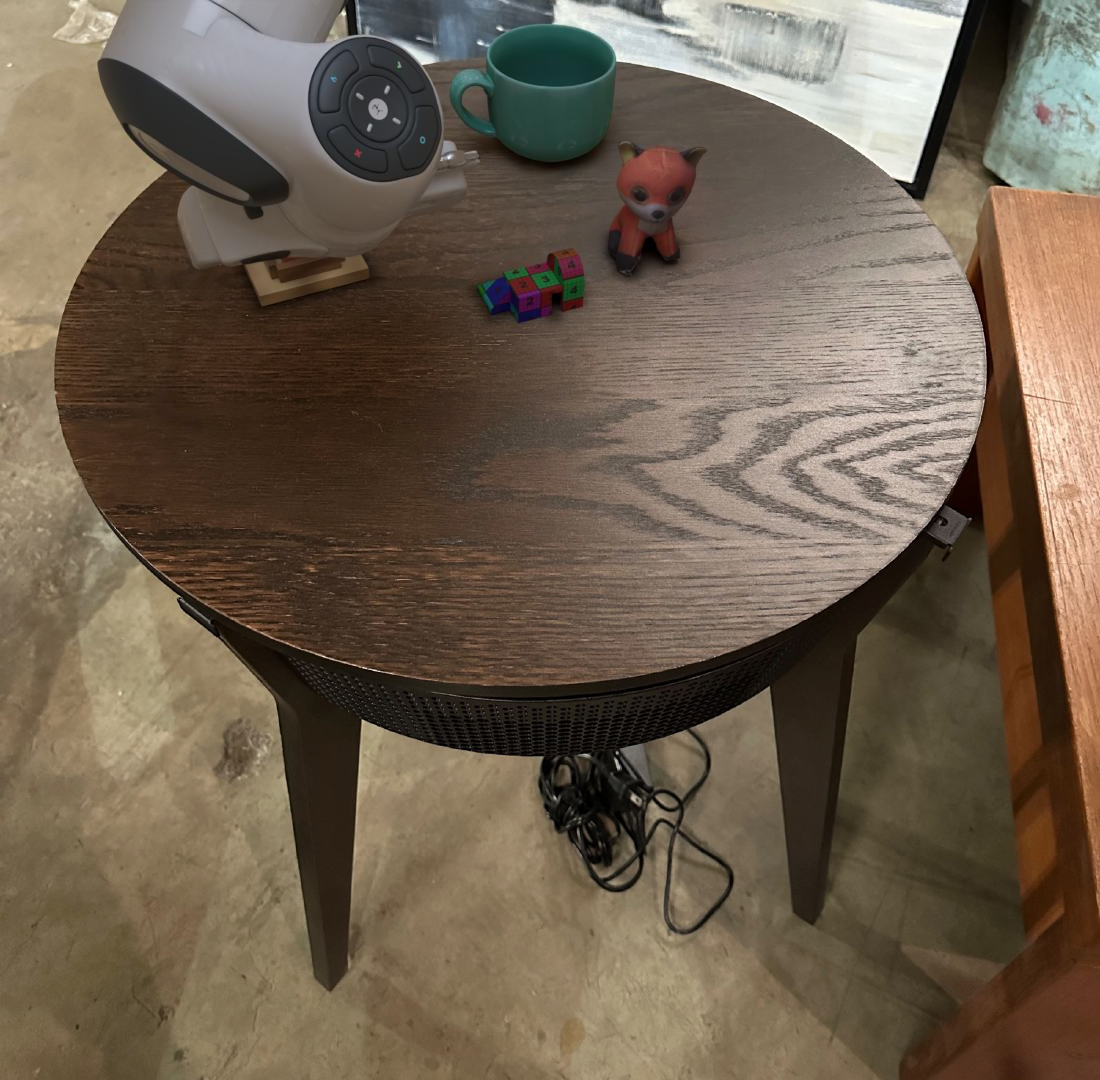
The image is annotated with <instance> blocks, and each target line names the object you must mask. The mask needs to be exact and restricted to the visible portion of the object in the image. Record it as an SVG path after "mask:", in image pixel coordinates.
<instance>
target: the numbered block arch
mask: <svg viewBox="0 0 1100 1080" xmlns="http://www.w3.org/2000/svg"><path fill="white" fill-rule="evenodd" d="M584 269H585V268H584V266H583V262H582V260H581V257H580V255H579V253H578V251H577V250H576V249H575V248H573V247H571V248H567V249H562V250H558V251H554V252H550V253H548V255H547V257H546V262H542V263H538V264H534V265H529V266H525V267H520V268H516V269H512V270H509V271H508V270H507V271H504V272H502V277H498V278H496V279H493V280H490V281H487V282H485V283H484V282H483V283H482V284H479V285H477V286H476V287H477V288H476V289H477V290H476V291H477V293H478V294H479V296H480V298H481V299H482V301H483V302H484V305H485V306H486V308H487V309H488V312H489V313H490V315H496V314H501V313H505V312H507V311H510V312H511V314H512V315H513V317H514V318H515V320H516V322H517V323H518V324H520V323H523V322H527V321H528V322H529V321H531V320H535V319H539V318H543V317H546V316H550V315H552V304H553V303H552V299H553V295H554V294H555V295H556V294H559V293H560V307H559V308H560V311H561V312H565V311H570V310H574V309H578V308H582V307H584V298H585V297H584V295H585V281H586V280H585V271H584Z"/></svg>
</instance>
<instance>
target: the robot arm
mask: <svg viewBox="0 0 1100 1080" xmlns="http://www.w3.org/2000/svg"><path fill="white" fill-rule="evenodd" d="M348 2H349V0H126V1H125V3H124V5H123V8H121V10H120V13H119V15H118V17H117V20H116V21H115V24H114V26H113V28H112V30H111V32H110V34H109V37H108V38H107V41H106V43H105V46H104V48H103V50H102V53H101V55H100V57H99V59H98V60H97V62H96V63H97V64H96V66H97V73H98V77H99V81H100V85H101V87H102V90H103V92H104V95H105V97H106V100H107V101H108V103H109V105H110V108H111V110H112V112H113V113H114V115H115V117H116V119H117V120H118V122H119V124H120V125H121V128H122V129H123V131H124V132H125V133H126V135H127V136H128V137H129V139H130V140H131V141H132V142H133V143H134V144H135V145H136V146H137V147H138V148H139V149H140V150H141V151H142V152H143V153H144V154H146V155H147V156H148V157H149V158H150V159H151V160H153V162H155V163H156V164H158V165H159V166H160V167H162V168H163V169H165V170H166V171H168V172H169V173H170V174H172V175H174V176H175V177H177V178H179V179H180V180H182V181H184V182H186V183H188V184H189V185H191V186H190V187H188V188H187V189H186V190H185V191H184V193H183V194H182V196H181V198H180V201H179V204H178V207H177V212H176V213H177V216H176V219H177V224H178V228H179V232H180V234H181V237H182V240H183V243H184V247H185V250H186V252H187V255H188V257H189V260H190V263H191V265H192V267H193V268H194V269H196V270H207V269H211V268H214V267H218V266H221V265H222V266H226V267H236V266H237V267H238V266H242V265H243V266H244V265H247V264H252V263H257V262H263V261H268V260H276V259H284V258H287V257H312V258H314V257H315V258H316V257H324V256H328V257H335V258H346V257H353V256H357V255H363V254H366V253H368V252H370V251H372V250H373V249H376V248H377V247H378V246H379V245H381V244H382V243H383V242H384V241H385V240H386V239H387V238H388V237H389V236H390V234H391V233H392V232H394V230H395V229H396V227H398V225H400V223H401V222H402V221H403V220H408V219H412V218H416V217H422V216H425V215H429V214H432V213H437V212H441V211H445V210H448V209H451V208H453V207H456V206H457V205H460V203H461V202H462V201H463V199H464V198H465V196H466V195H467V193H468V182H467V178H466V175H465V174H467V173H470V172H472V171H474V170H475V169H476V168H477V167H478V166H479V165H480V163H481V156H480V154H478V151H477V150H471V151H467V152H466V151H465V152H464V150H463V149H457V145H456V143H455V142H454V141H453V140H448V139H447V140H445V118H444V112H443V111H444V110H443V107H442V102H441V100H440V96H439V93H438V91H437V88H436V87H435V84H434V82H433V80H432V79H431V77H430V75H429V73H428V71H427V70H426V69H425V67H424V66H423V64H422V63H421V62H420V61H419V60H418V58H416V57H415V55H413V54H412V53H411V52H409V50H408V49H406V48H404V47H403V46H402V45H400V44H398V43H397V42H395V41H393V40H390V39H388V38H386V37H382V36H379V35H374V34H353V35H348V36H344V37H339V38H335V39H333V40H330V41H327V40H328V37H329V36H330V33H331V31H332V30H333V26H334V25H335V22H336V21H337V17H338V16H340V14H341V13H342V12H343V10H344V9H345V8H346V5H347V4H348Z"/></svg>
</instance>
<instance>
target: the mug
mask: <svg viewBox="0 0 1100 1080" xmlns="http://www.w3.org/2000/svg"><path fill="white" fill-rule="evenodd" d="M485 57H486V58H485V72H483V71H482V70H479V69H474V68H468V69H464V70H462V71H460V72H458V73H457V74H456V75H455V76H454V77H453V79H452V80H451V83H450V85H449V94H448V95H449V101H450V104H451V106H452V108H453V110H454V112H455V113H456V114H457V117H459V119H460V120H461V121H462V122H463V124H464V125H465V126H467V127H468V128H470V129H471V130H472V131H474V132H476V133H478V134H481V135H484V136H485V137H491V138H497V139H498V140H499V142H501V143H502V144H503V145H504V146H505V147H506V148H508V149H509V150H510V151H512V152H514V153H516V154H517V155H518V156H521V157H525V158H528V159H530V160H533V161H537V162H542V163H558V162H564V161H568V160H569V161H570V160H572V159H575V158H578V157H581V156H584V155H585V154H587V153H589V152H590V151H592V150H593V149H594V148H595V147H597V146H598V145H599V143H601V141H602V140H603V138H604V137H605V135H606V133H607V131H608V128H609V125H610V123H611V119H612V114H613V106H614V98H615V87H616V75H617V55H616V52H615V50H614V48H613V47H612V46H611V45H610V43H609V42H607V40H605V39H604V38H602V37H601V36H600V35H598V34H595V33H593V32H592V31H589V30H586V29H583V28H580V27H577V26H572V25H566V24H558V23H536V24H535V23H534V24H528V25H523V26H522V25H521V26H518V27H515V28H512V29H510V30H507V31H505V32H503V33H501V34H500V35H498V36H497V37H495V39H493V40H492V41H491V43H490V44H489V45H488V47H487V50H486V56H485ZM471 87H479V88H482V89H483V92H484V94H485V95H486V101H487V113H488V119H489V120H487V119H484V118H482V117H479V116H477V115H476V114H474V113H472V112H471V111H469V110H468V108H466V107H465V106H464V104H463V101H462V100H463V95H464V94H465V92H466V90H467V89H469V88H471Z"/></svg>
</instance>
